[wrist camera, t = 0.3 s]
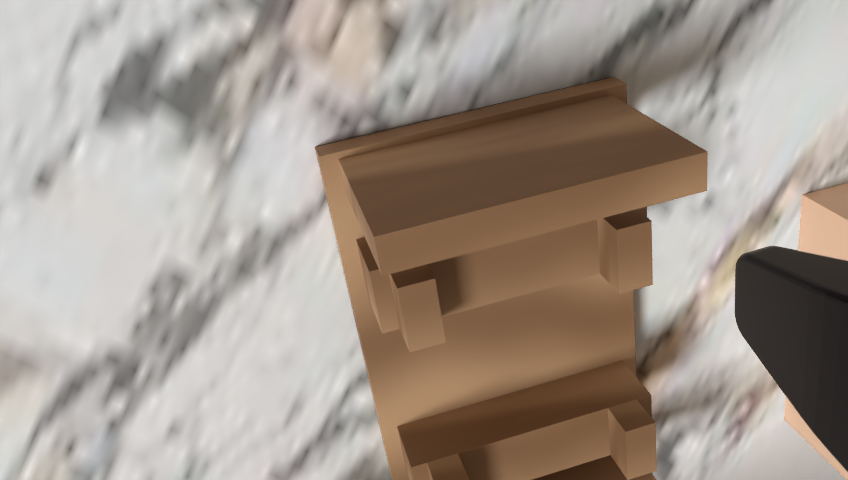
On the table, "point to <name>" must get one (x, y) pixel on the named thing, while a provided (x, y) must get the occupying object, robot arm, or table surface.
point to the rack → (508, 282)
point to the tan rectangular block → (833, 237)
